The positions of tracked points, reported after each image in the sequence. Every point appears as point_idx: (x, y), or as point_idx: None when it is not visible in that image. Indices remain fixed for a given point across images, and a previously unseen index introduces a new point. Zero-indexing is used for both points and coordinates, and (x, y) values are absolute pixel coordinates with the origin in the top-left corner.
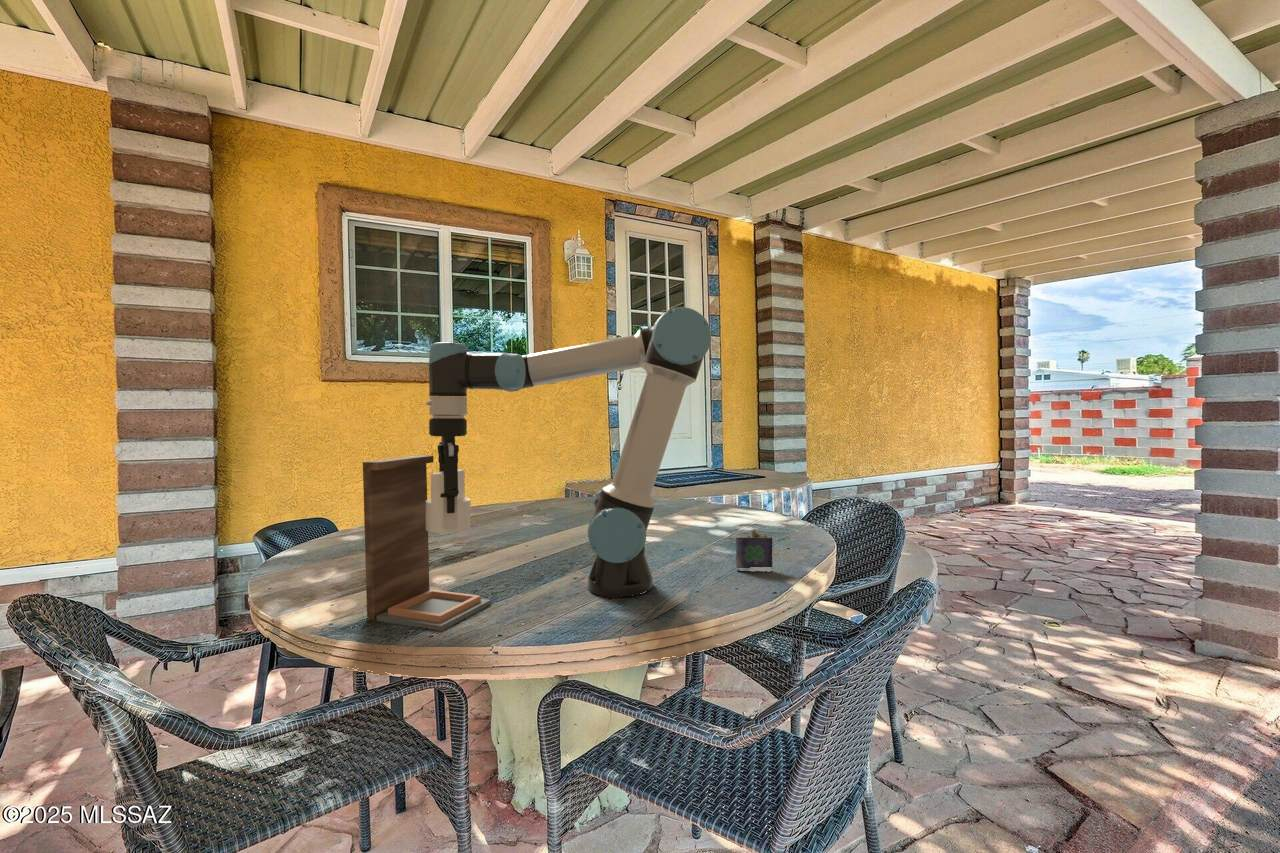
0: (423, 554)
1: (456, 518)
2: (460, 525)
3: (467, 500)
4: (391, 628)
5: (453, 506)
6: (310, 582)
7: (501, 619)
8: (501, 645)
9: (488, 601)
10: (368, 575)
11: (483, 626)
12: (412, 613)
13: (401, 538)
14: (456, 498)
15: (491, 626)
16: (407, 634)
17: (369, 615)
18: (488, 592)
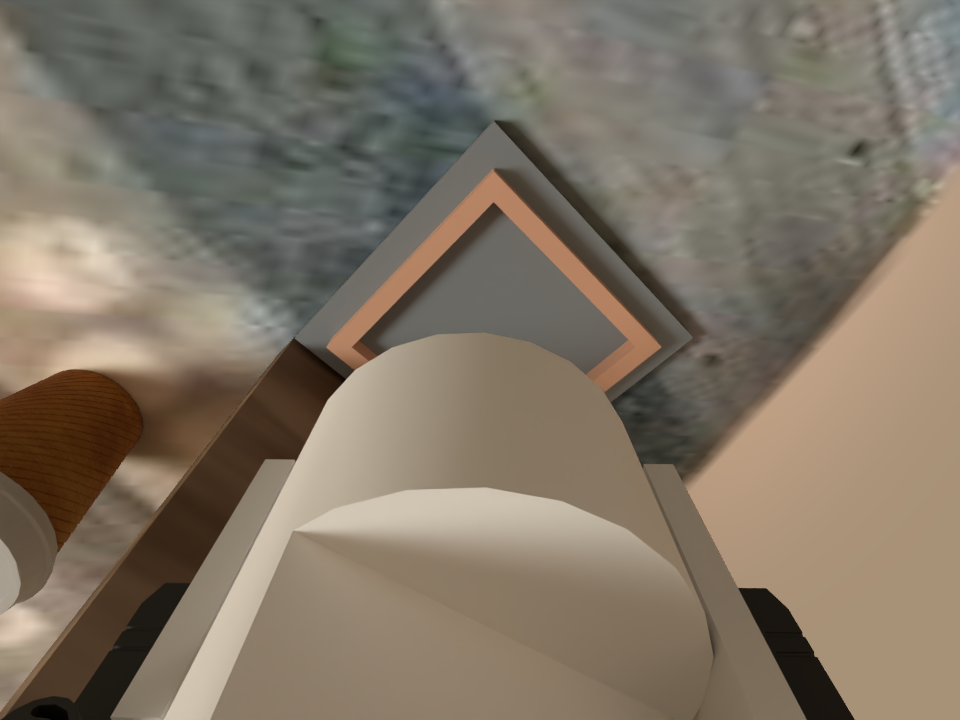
0: (254, 454)
1: (702, 525)
2: (631, 445)
3: (577, 529)
4: None
5: (808, 655)
6: (43, 630)
7: (699, 110)
8: (951, 162)
9: (505, 134)
10: None
11: (730, 193)
12: None
13: None
14: (793, 706)
15: (749, 164)
16: (654, 417)
17: None
18: (314, 100)
